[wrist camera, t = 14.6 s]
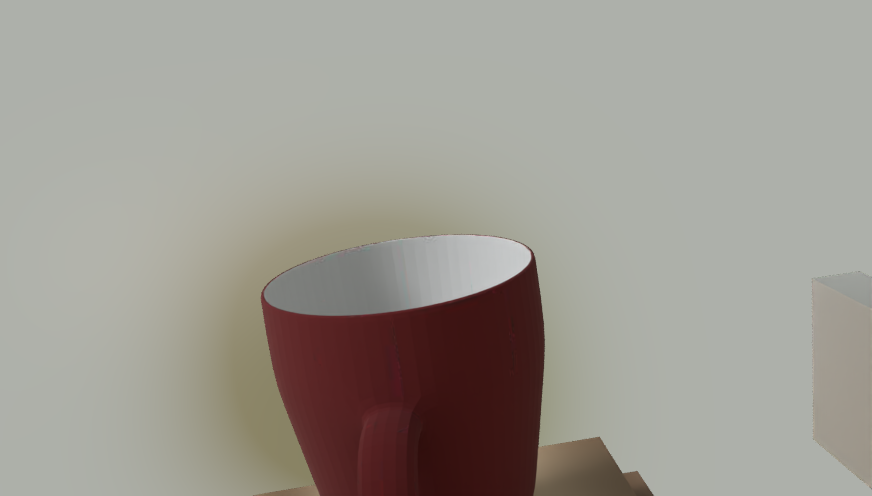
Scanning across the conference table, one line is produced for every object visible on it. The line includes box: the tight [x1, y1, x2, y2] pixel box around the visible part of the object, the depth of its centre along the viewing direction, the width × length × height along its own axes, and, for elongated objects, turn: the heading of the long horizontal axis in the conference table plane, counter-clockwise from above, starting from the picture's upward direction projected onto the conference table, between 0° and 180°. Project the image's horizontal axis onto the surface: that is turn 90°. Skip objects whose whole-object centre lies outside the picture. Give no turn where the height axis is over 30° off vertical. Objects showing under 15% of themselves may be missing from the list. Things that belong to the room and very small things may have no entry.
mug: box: [261, 235, 545, 496], centre depth 24 cm, size 10×8×10 cm
